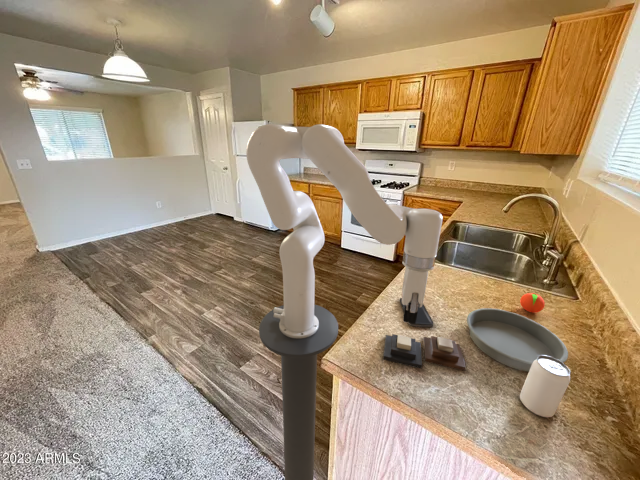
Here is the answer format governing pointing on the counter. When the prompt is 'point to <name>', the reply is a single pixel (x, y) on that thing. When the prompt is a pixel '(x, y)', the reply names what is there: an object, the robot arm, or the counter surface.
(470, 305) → the counter surface
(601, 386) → the counter surface
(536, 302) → the tomato
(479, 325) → the cake pan
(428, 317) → the phone
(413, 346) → the keypad
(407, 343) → the key
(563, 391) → the can
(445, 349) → the key
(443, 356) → the keypad
